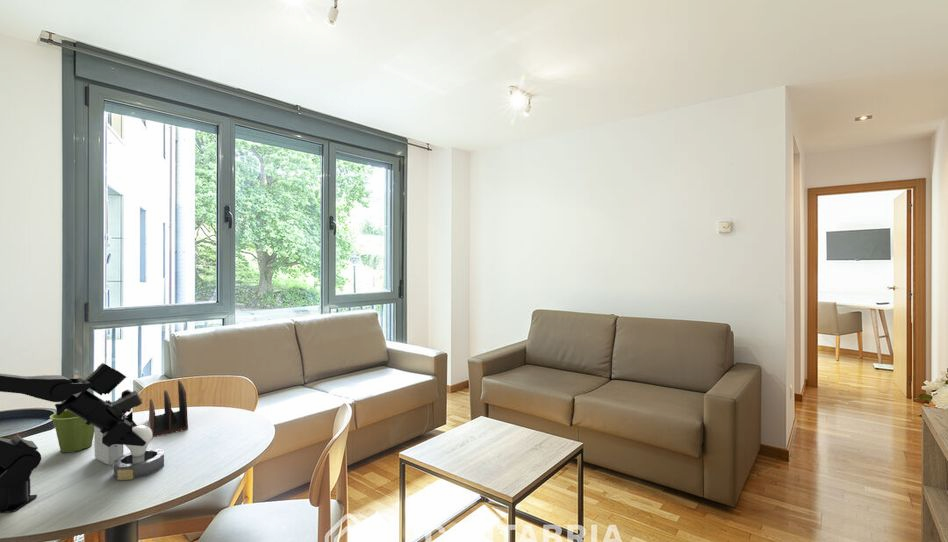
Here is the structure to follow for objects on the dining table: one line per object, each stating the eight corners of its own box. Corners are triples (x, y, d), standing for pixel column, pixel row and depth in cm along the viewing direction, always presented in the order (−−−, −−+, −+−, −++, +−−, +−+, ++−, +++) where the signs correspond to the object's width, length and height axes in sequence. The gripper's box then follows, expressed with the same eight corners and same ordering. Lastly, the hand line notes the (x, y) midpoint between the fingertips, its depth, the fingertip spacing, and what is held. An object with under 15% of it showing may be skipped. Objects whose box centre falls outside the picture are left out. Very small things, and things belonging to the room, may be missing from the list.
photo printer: (126, 460, 127) (125, 418, 126) (108, 466, 123) (107, 423, 123) (110, 452, 132) (109, 412, 131) (92, 458, 128) (91, 416, 128)
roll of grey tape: (148, 479, 116) (147, 466, 116) (102, 482, 114) (101, 469, 114) (171, 459, 128) (171, 447, 128) (130, 461, 126) (129, 449, 126)
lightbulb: (127, 462, 123) (127, 423, 123) (155, 458, 125) (155, 420, 125) (120, 472, 117) (120, 431, 117) (149, 467, 120) (149, 428, 119)
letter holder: (181, 414, 165) (181, 377, 165) (188, 430, 150) (187, 389, 150) (148, 420, 159) (148, 381, 158) (152, 437, 144) (151, 395, 143)
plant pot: (105, 447, 135) (104, 411, 135) (52, 460, 127) (51, 422, 126) (98, 436, 143) (98, 403, 143) (48, 448, 134) (47, 412, 134)
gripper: (119, 392, 111) (171, 426, 118) (121, 377, 126) (167, 407, 133) (77, 430, 106) (134, 462, 113) (84, 409, 121) (134, 439, 128)
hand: (144, 440), depth 122 cm, fingers closed on lightbulb, 6 cm apart
